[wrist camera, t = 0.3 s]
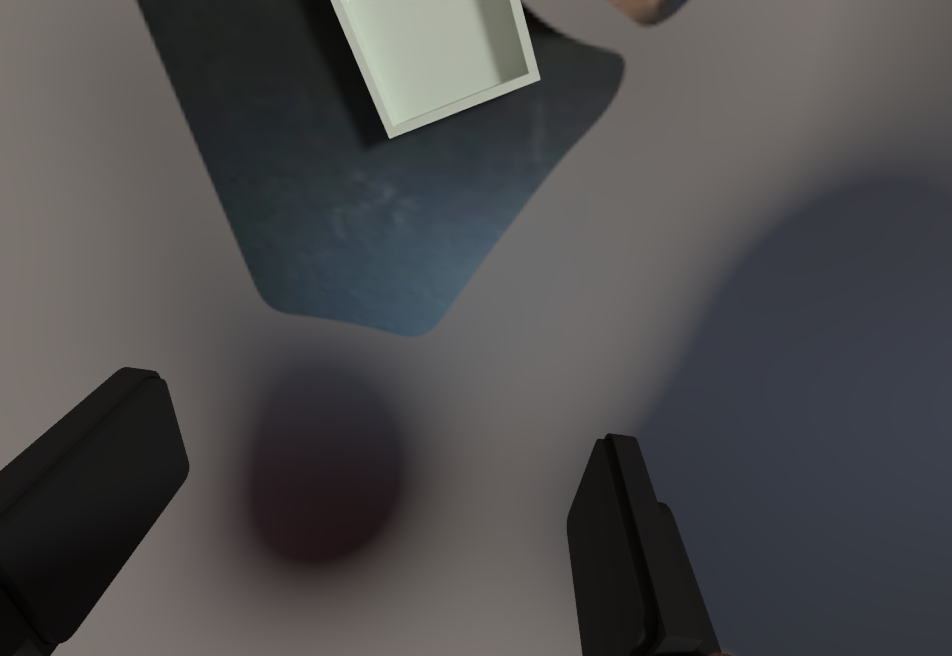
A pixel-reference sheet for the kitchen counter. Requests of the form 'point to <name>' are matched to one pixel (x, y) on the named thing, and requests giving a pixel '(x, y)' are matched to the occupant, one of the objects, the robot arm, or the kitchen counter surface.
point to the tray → (436, 55)
